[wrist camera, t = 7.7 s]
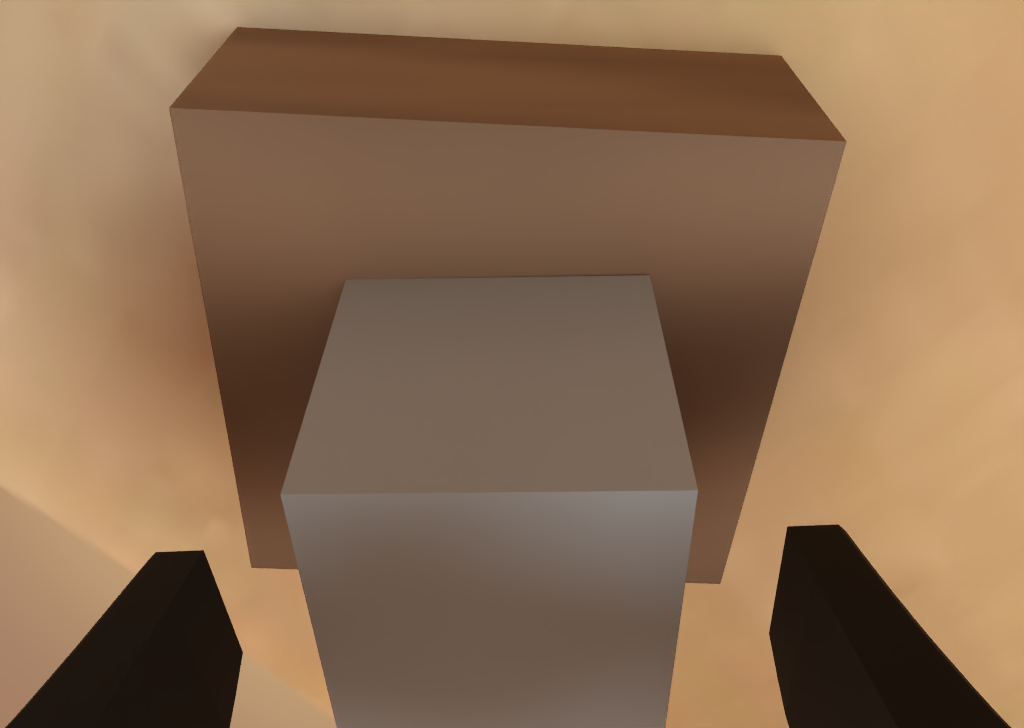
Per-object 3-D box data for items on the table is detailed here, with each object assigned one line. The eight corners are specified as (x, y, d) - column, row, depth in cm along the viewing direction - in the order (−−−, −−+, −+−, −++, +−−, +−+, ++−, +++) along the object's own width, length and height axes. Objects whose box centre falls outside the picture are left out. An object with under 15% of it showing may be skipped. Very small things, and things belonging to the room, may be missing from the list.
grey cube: (632, 494, 16) (664, 727, 12) (378, 497, 16) (337, 729, 12) (649, 275, 13) (698, 490, 10) (345, 279, 13) (279, 494, 10)
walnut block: (687, 445, 21) (720, 584, 17) (292, 431, 20) (251, 567, 17) (775, 49, 15) (846, 141, 12) (242, 21, 15) (169, 107, 12)
